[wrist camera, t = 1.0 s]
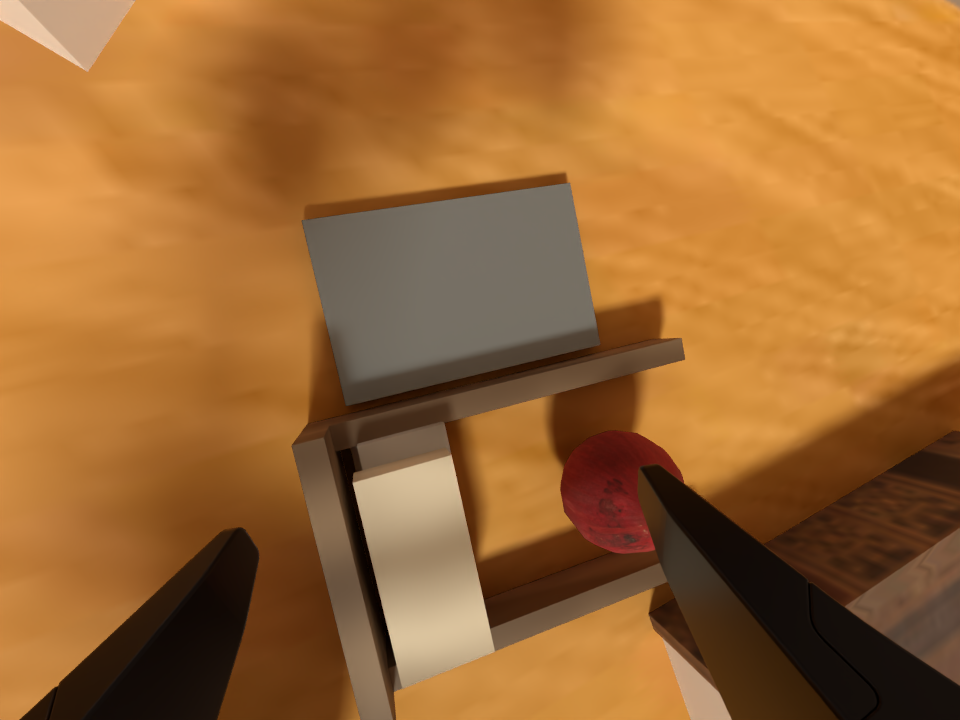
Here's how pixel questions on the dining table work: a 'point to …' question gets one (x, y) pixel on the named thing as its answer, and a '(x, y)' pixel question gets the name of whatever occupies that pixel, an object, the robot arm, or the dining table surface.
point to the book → (866, 568)
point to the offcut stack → (421, 552)
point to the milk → (67, 24)
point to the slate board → (451, 288)
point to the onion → (611, 489)
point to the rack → (506, 612)
